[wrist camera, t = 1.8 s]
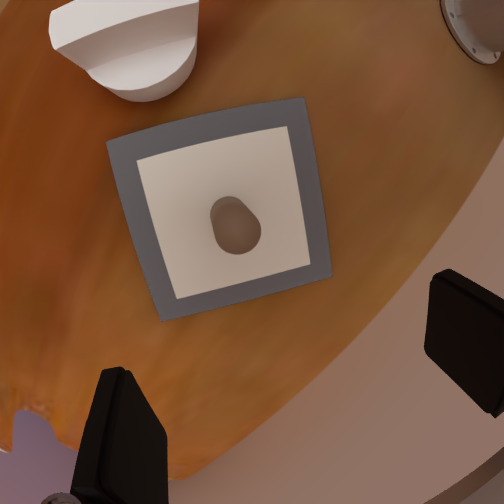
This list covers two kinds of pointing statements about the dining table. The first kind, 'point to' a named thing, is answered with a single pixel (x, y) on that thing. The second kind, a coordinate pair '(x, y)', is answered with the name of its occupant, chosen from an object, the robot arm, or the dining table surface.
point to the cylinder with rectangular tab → (129, 43)
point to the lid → (226, 210)
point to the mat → (205, 130)
